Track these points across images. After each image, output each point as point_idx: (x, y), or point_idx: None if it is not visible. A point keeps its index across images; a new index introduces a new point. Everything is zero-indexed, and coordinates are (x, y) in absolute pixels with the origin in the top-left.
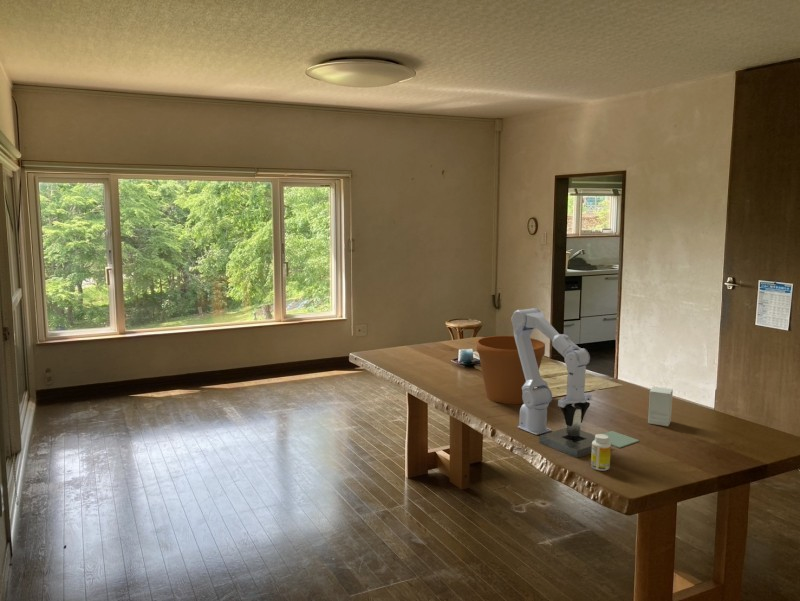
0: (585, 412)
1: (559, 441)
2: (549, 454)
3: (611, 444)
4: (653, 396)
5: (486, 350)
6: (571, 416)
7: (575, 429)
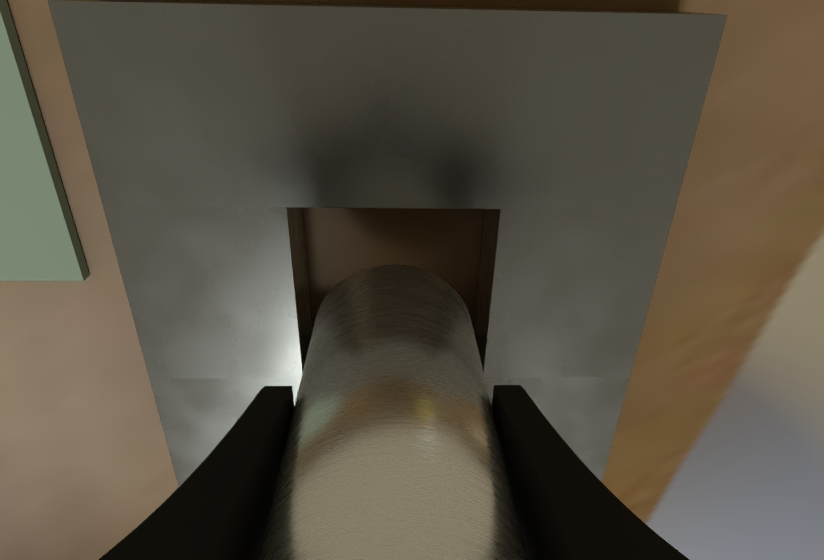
0: (155, 512)
1: (603, 314)
2: (767, 238)
3: (6, 21)
4: None
5: None
6: (623, 505)
7: (450, 324)
